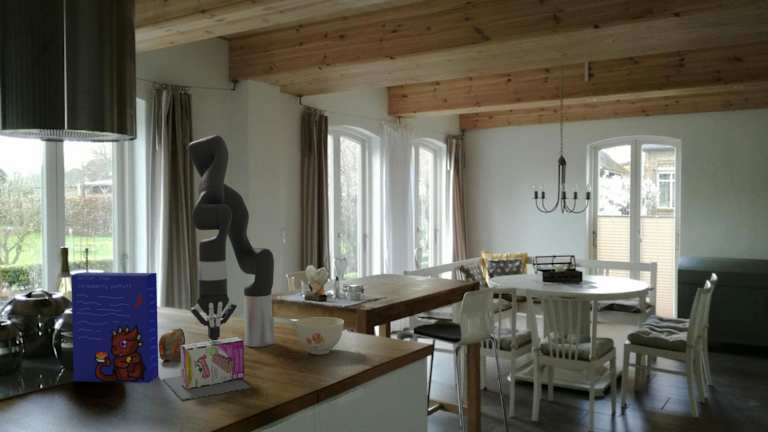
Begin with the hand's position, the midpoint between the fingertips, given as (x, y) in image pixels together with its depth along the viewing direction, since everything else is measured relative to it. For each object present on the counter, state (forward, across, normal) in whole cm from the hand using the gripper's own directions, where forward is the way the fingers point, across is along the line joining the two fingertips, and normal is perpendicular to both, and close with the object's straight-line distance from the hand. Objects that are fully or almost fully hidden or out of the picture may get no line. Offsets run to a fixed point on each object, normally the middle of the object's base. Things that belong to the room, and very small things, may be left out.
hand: (214, 339), depth 170 cm
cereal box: (+12, +22, -19) cm, 32 cm away
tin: (+12, +3, -34) cm, 36 cm away
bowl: (+12, -39, -13) cm, 43 cm away
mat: (+12, +2, 0) cm, 12 cm away
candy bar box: (+6, -8, +1) cm, 10 cm away
